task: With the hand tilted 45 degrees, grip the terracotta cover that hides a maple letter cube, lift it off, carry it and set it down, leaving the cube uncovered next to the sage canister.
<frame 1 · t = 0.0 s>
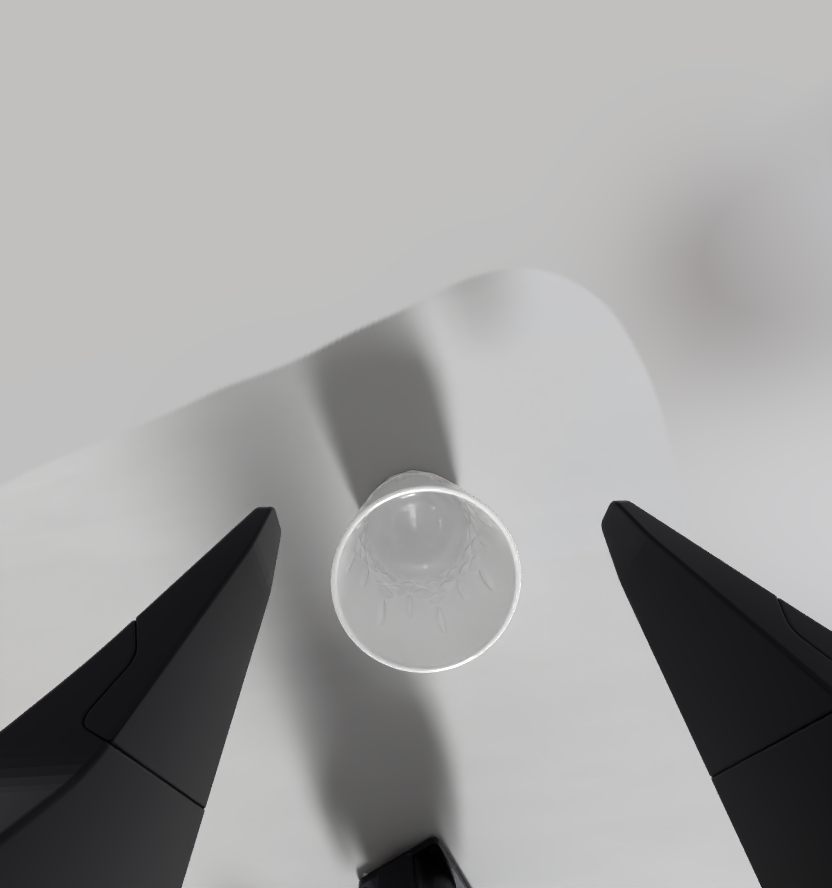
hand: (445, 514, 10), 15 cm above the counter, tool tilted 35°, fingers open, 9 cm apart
white cup: (414, 517, 25), on the counter
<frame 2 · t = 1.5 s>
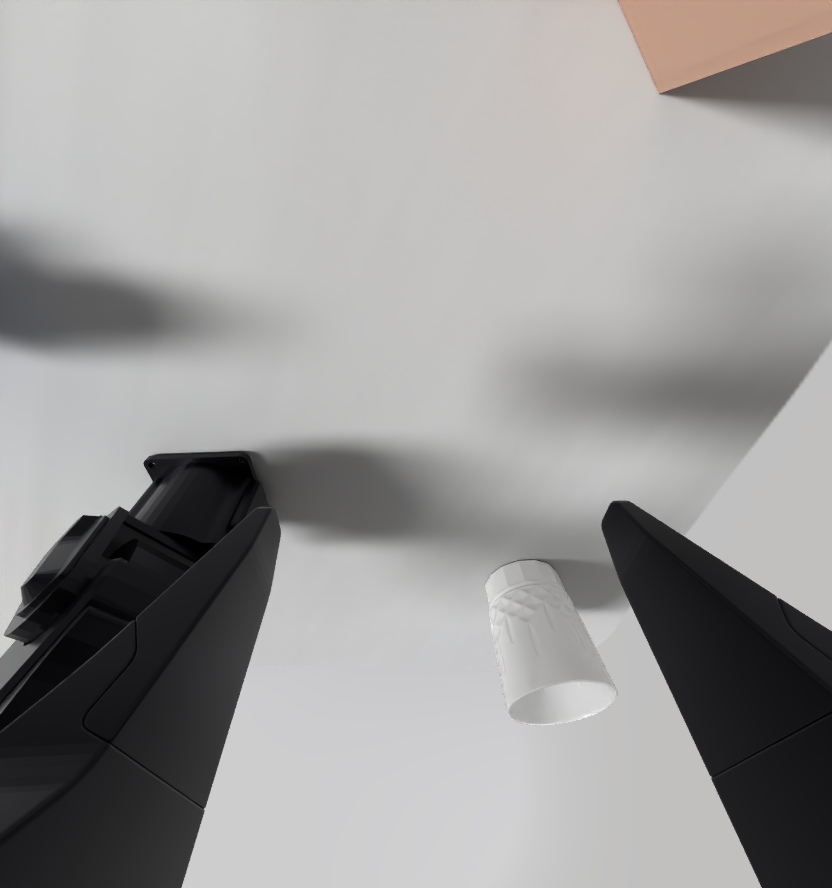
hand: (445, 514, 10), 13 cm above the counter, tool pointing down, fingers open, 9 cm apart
white cup: (519, 579, 34), on the counter
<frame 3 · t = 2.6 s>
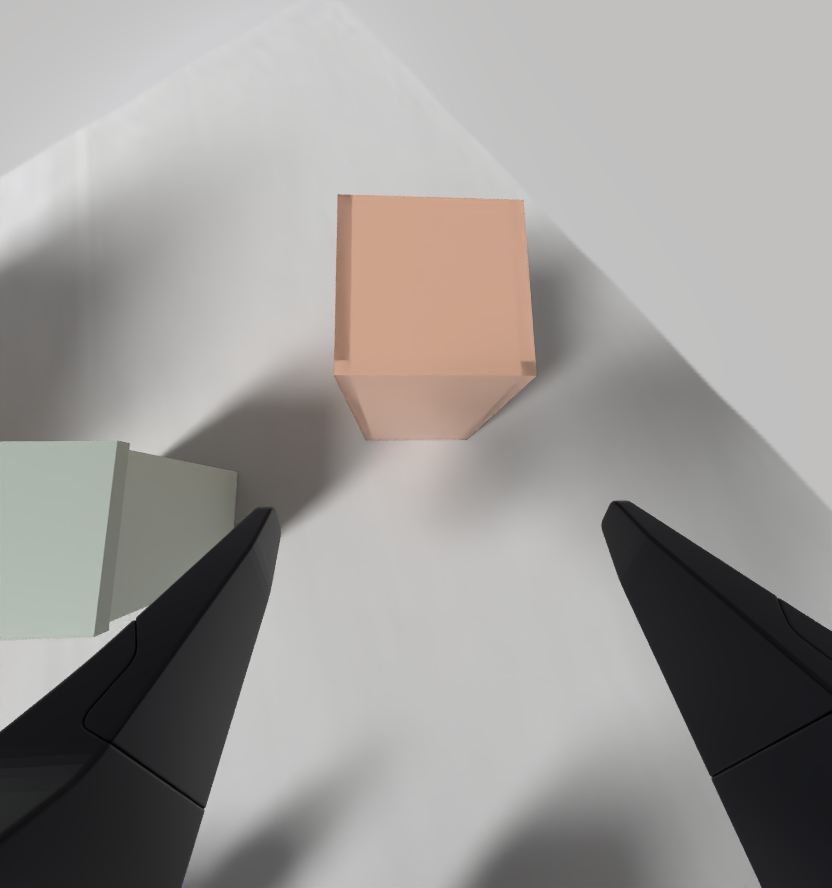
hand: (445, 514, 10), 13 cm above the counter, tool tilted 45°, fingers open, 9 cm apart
sage canister: (184, 521, 22), on the counter
terracotta cover: (415, 391, 24), on the counter
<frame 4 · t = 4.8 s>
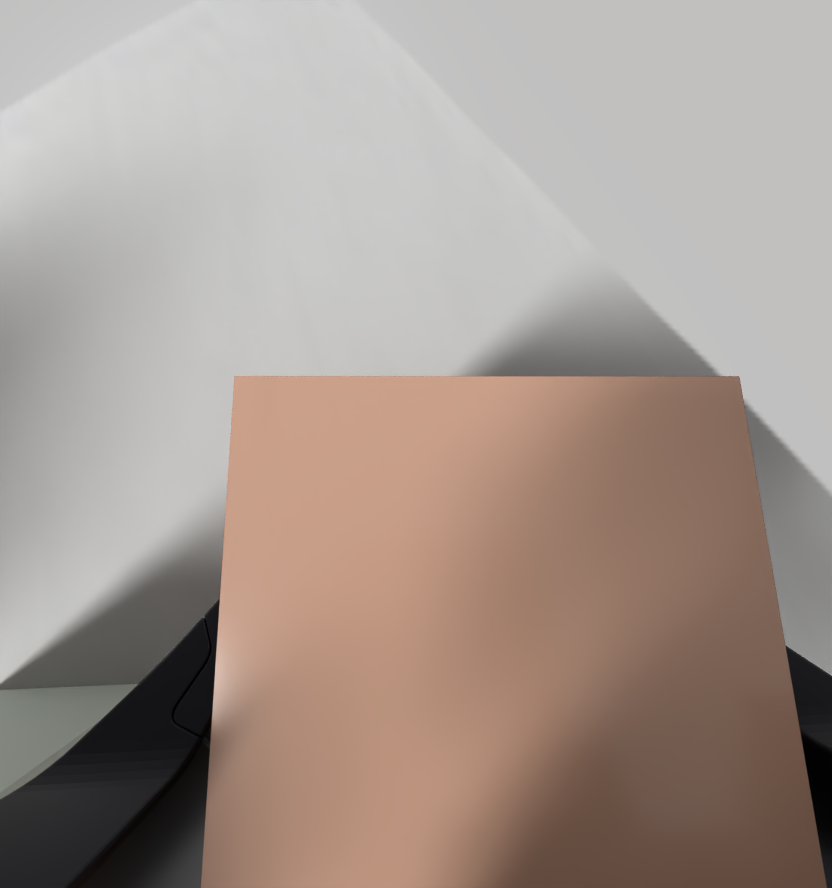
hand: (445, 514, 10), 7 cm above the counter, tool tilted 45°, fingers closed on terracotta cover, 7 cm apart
sage canister: (61, 772, 14), on the counter
terracotta cover: (426, 541, 16), on the counter, touching gripper
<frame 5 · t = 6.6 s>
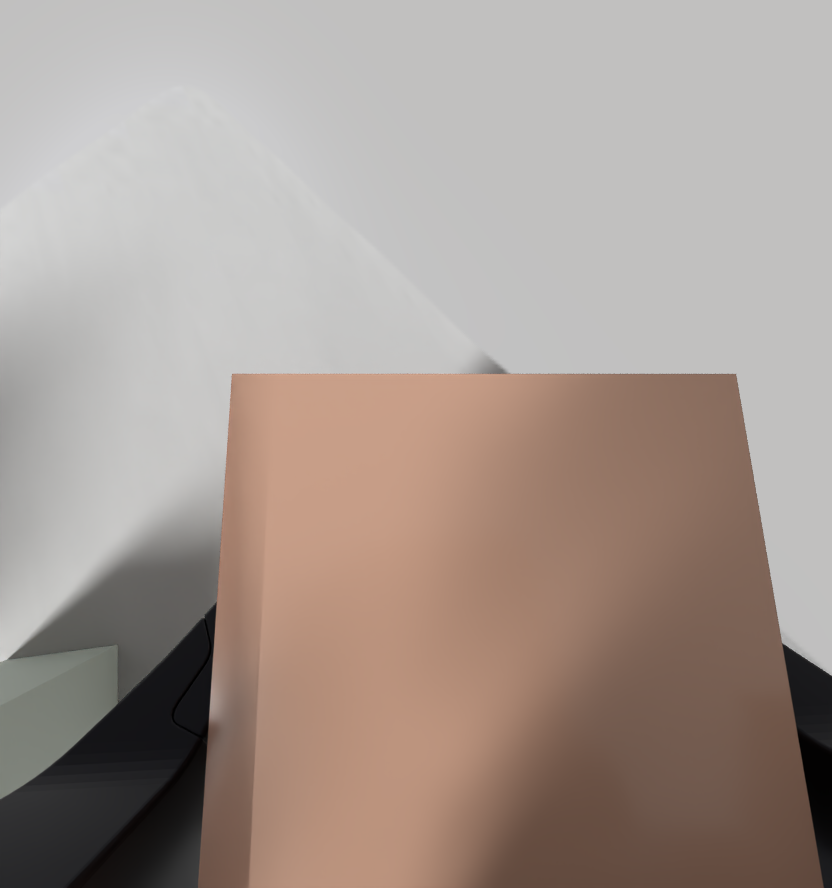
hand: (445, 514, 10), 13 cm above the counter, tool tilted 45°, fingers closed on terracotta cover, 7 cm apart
sage canister: (61, 709, 20), on the counter
terracotta cover: (425, 541, 16), point 7 cm above the counter, touching gripper
when the fingers open (8 cm above the counter, at t = 8.6 s): terracotta cover drops 1 cm, on the counter.
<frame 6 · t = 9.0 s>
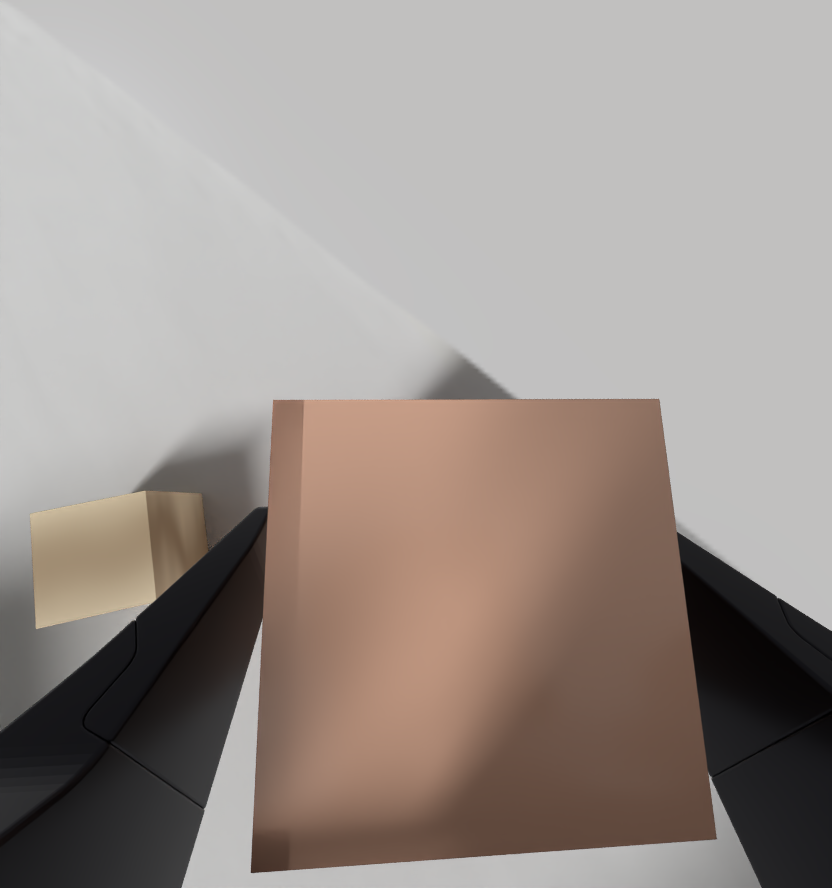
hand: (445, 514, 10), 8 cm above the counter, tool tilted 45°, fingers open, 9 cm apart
terracotta cover: (423, 535, 17), on the counter
maple cube: (132, 549, 15), on the counter
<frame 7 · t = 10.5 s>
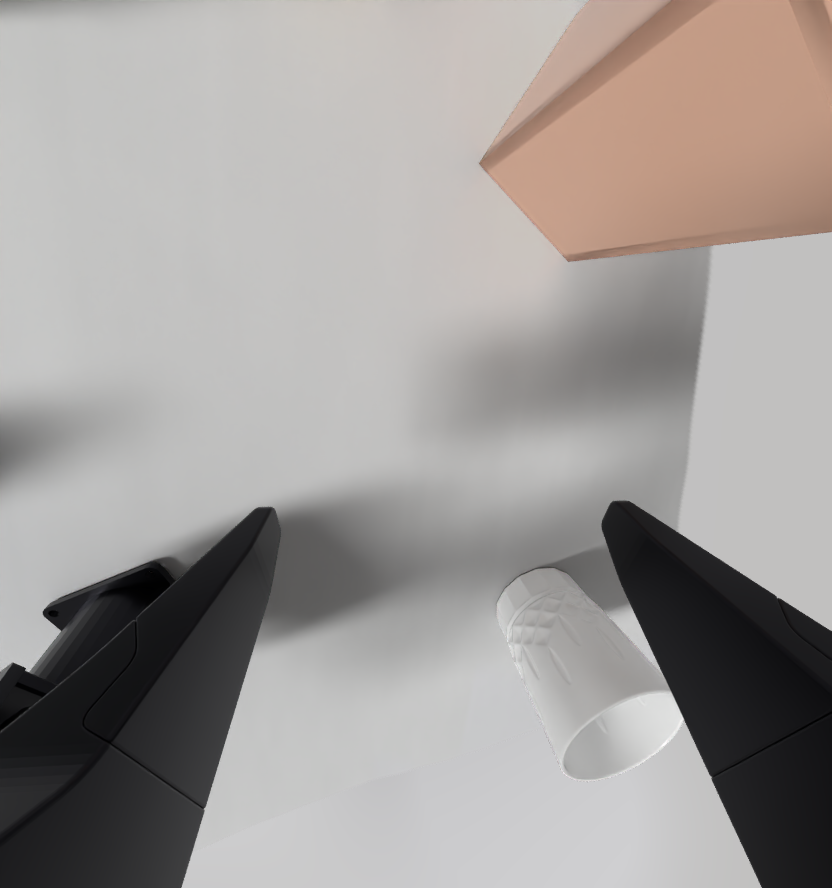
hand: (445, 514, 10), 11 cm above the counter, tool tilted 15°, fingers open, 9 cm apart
terracotta cover: (571, 152, 17), on the counter
white cup: (532, 597, 29), on the counter
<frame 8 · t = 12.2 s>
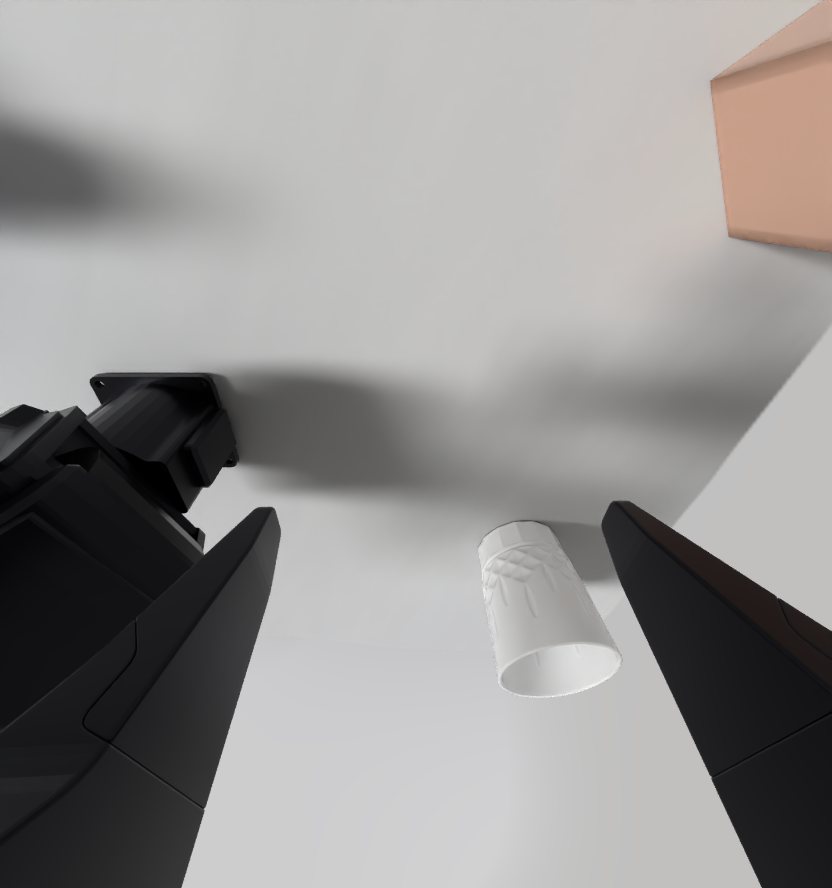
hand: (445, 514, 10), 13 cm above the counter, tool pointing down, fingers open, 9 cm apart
terracotta cover: (804, 112, 15), on the counter
white cup: (515, 544, 31), on the counter
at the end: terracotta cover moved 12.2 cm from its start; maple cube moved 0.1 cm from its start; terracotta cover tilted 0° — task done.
